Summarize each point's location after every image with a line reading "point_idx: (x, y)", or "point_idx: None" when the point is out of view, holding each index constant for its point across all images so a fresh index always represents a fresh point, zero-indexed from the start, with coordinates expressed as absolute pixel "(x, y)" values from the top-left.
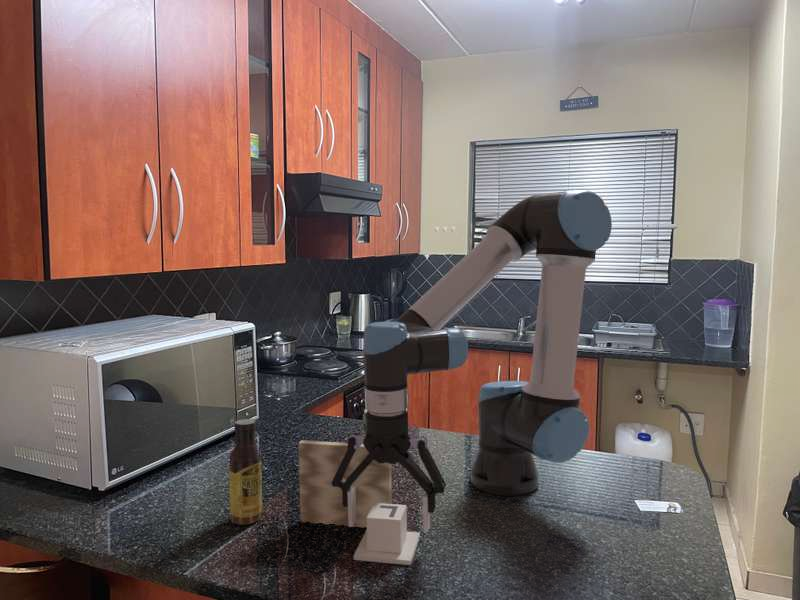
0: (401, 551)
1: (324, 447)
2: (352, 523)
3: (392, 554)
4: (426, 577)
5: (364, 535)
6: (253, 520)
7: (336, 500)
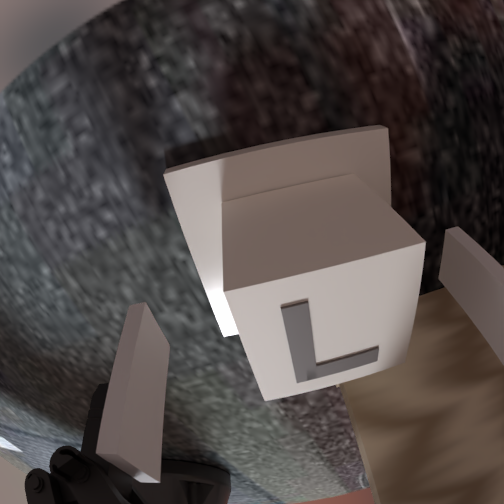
0: None
1: None
2: (453, 237)
3: (250, 185)
4: (83, 127)
5: None
6: None
7: None
